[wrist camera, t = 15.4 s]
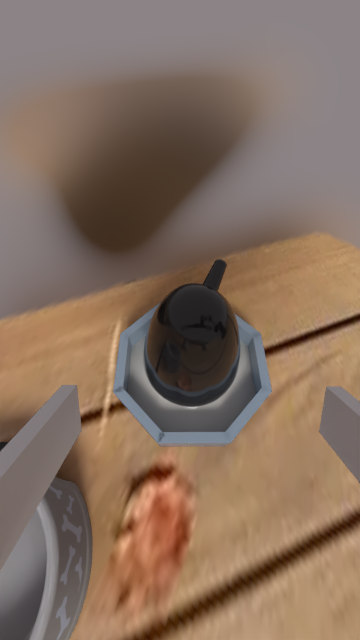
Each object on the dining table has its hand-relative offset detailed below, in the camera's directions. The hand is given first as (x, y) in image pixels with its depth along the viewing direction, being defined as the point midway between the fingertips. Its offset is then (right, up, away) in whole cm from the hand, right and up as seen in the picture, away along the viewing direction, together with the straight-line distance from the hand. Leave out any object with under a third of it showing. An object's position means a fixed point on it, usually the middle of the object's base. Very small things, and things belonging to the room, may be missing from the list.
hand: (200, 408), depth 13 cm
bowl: (0, -2, +18) cm, 19 cm away
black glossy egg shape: (0, -2, +18) cm, 18 cm away
